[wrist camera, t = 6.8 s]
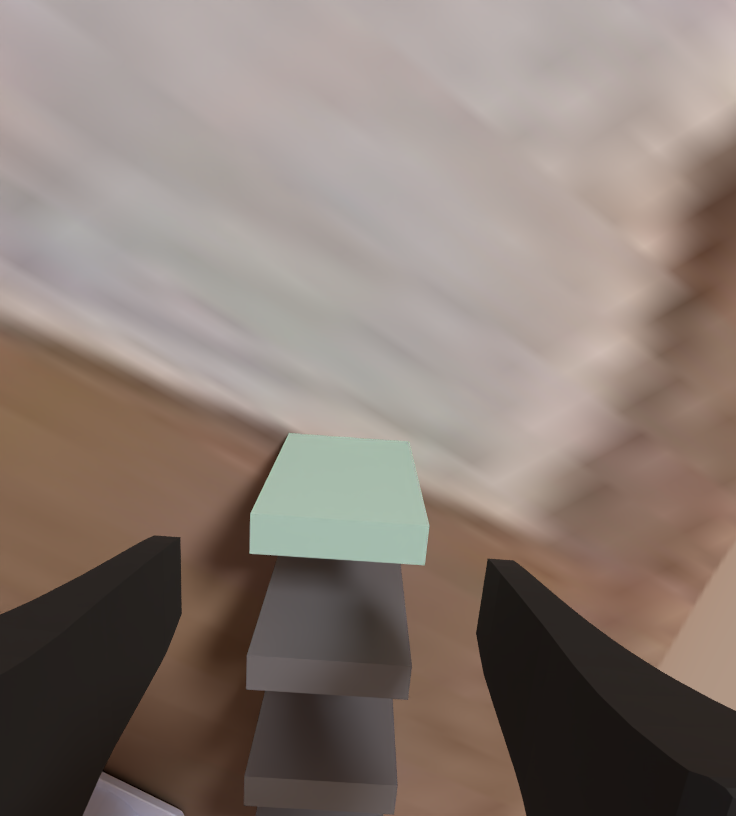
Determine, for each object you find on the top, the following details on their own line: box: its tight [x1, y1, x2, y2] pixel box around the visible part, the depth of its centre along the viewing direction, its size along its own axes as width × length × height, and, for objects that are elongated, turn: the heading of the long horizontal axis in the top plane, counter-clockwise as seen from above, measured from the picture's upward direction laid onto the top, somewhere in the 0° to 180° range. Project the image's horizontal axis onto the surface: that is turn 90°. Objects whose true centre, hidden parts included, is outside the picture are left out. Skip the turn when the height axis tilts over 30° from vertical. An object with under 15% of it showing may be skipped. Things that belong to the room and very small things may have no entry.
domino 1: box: [246, 556, 412, 700], centre depth 18 cm, size 1×5×7 cm, turn 85°
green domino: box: [250, 433, 429, 565], centre depth 17 cm, size 1×5×7 cm, turn 86°
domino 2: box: [244, 691, 397, 815], centre depth 20 cm, size 1×5×7 cm, turn 86°
